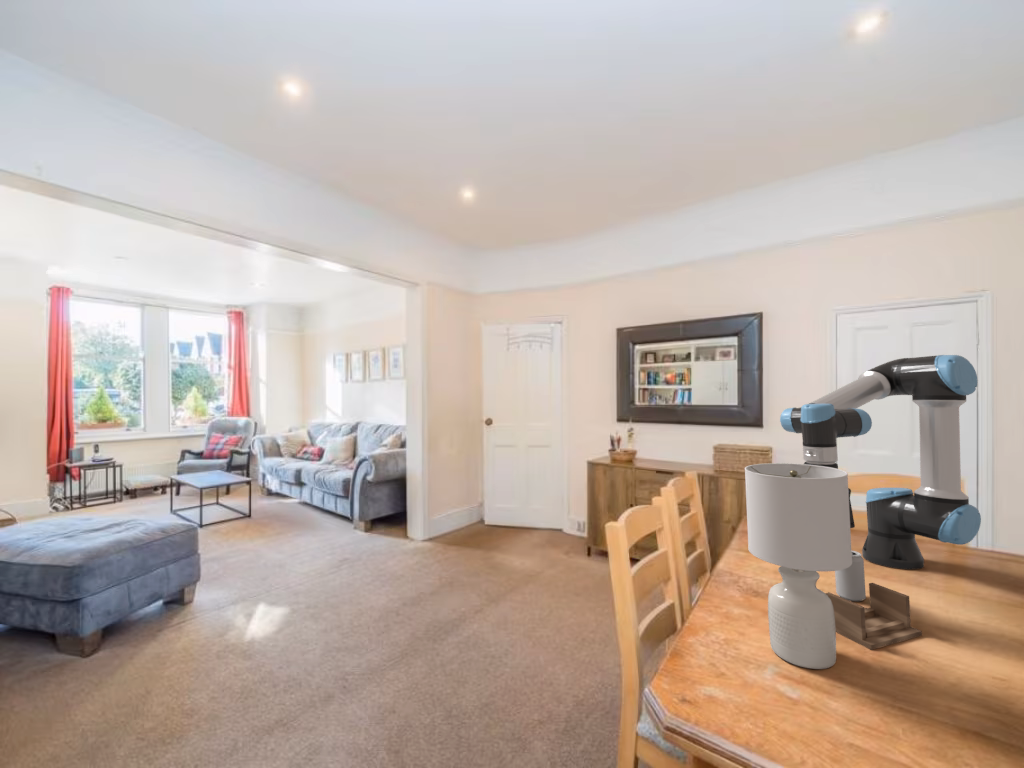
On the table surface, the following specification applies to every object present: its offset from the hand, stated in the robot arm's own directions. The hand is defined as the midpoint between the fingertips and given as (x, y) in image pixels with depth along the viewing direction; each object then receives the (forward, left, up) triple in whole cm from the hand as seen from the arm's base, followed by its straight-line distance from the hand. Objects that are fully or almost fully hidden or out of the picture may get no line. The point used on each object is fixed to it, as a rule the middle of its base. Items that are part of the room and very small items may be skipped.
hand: (825, 548), depth 119 cm
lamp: (+27, +15, -14) cm, 34 cm away
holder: (+4, +13, -14) cm, 19 cm away
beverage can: (-8, 0, -14) cm, 16 cm away
